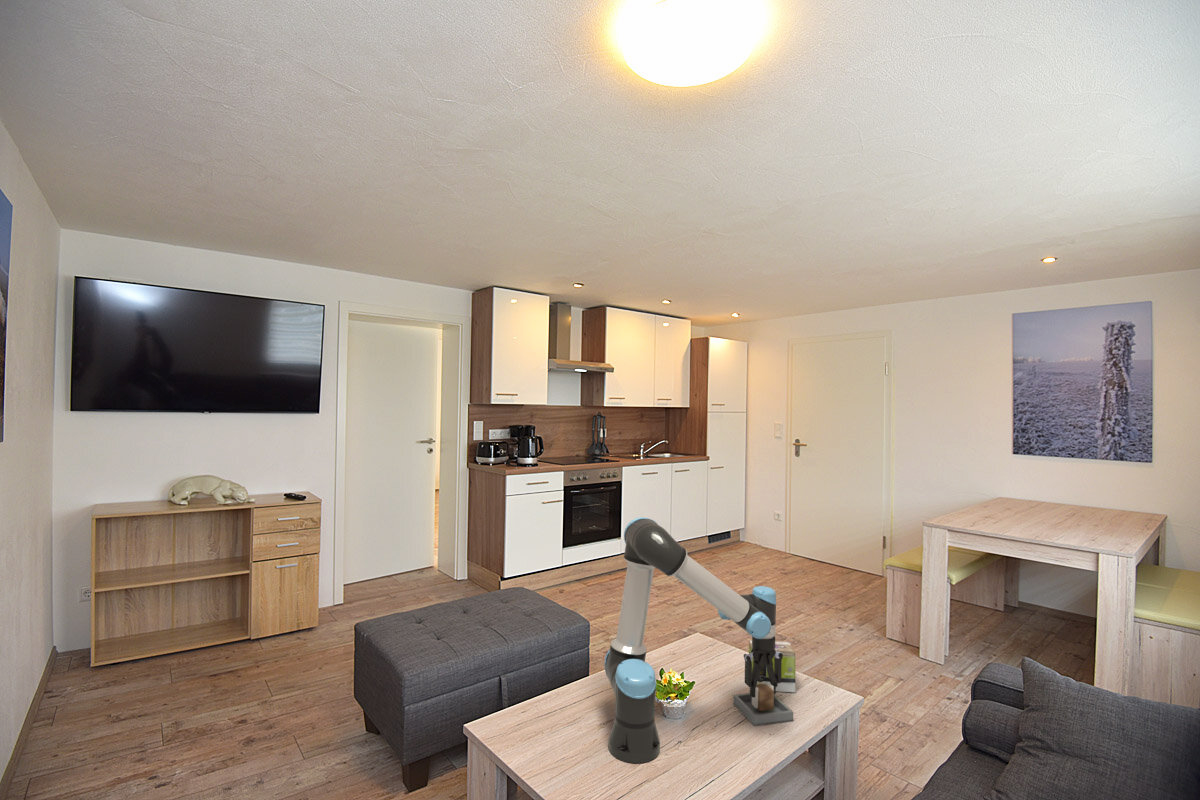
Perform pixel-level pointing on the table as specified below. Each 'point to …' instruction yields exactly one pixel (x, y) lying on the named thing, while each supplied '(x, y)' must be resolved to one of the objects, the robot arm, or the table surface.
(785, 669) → the tea box
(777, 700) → the tray
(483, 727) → the table surface
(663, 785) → the table surface
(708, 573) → the robot arm
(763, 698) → the walnut block
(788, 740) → the table surface
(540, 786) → the table surface
